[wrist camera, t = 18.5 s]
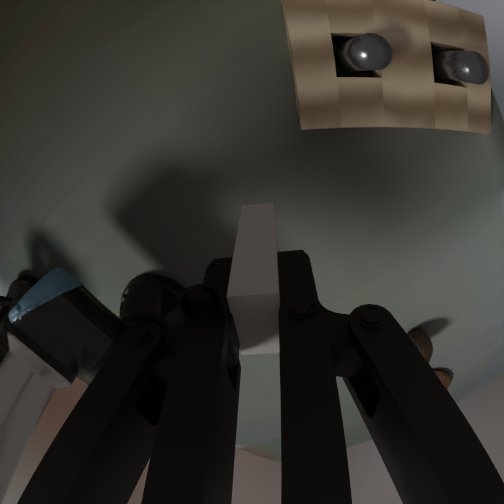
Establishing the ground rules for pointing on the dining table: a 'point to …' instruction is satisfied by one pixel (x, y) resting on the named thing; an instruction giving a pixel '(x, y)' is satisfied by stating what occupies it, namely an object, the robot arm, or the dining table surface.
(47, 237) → the dining table surface
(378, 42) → the seated peg
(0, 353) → the black kettle
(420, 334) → the vase
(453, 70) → the steel peg
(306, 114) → the jig
